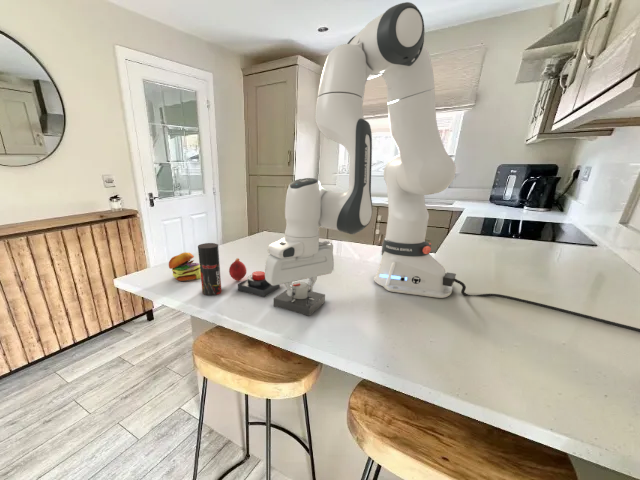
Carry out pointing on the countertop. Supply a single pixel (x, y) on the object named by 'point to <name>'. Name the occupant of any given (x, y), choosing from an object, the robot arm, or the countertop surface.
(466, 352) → the countertop surface
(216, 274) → the deodorant
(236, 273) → the onion
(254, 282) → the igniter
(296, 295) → the hob knob
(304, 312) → the hob panel
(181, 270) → the cheeseburger
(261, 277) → the button
